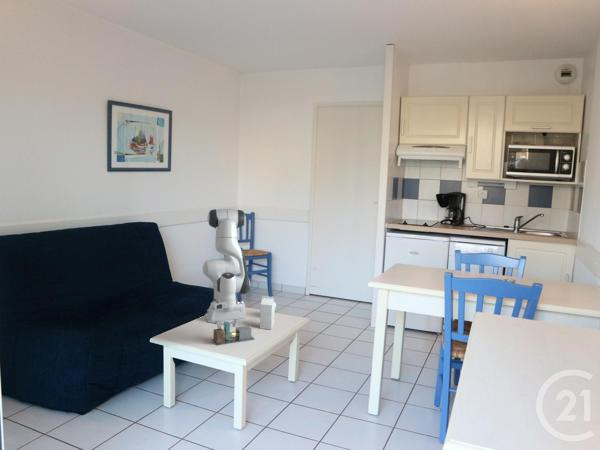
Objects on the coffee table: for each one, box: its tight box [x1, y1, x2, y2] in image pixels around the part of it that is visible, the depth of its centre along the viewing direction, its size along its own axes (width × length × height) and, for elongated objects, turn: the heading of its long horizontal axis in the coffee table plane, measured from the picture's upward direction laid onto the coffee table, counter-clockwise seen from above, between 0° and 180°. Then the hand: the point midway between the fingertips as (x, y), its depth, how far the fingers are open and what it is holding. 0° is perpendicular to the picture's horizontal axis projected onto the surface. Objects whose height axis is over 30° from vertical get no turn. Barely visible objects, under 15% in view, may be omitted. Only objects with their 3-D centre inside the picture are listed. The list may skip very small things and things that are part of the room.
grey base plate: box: [211, 325, 255, 346], centre depth 265 cm, size 22×8×6 cm, turn 120°
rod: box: [223, 321, 239, 340], centre depth 264 cm, size 13×4×10 cm, turn 120°
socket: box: [212, 327, 225, 343], centre depth 261 cm, size 4×6×6 cm
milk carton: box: [259, 295, 276, 330], centre depth 288 cm, size 7×7×19 cm
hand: (226, 327), depth 262 cm, fingers open, 7 cm apart
